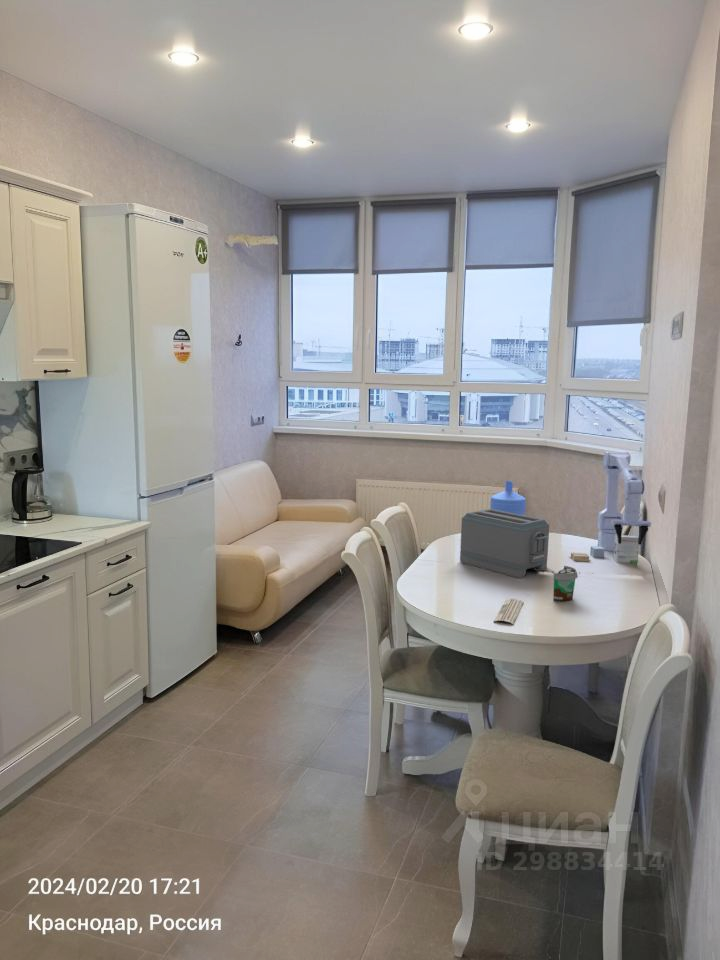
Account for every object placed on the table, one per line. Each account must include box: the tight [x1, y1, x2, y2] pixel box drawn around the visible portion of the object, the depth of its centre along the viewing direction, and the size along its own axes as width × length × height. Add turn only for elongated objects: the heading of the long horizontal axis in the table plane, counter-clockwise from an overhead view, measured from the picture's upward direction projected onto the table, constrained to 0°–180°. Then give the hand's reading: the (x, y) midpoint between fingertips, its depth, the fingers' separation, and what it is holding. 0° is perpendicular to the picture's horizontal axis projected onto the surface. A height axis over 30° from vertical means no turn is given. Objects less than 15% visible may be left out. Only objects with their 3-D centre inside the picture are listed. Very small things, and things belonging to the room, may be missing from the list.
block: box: [589, 545, 606, 558], centre depth 303 cm, size 4×4×5 cm
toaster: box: [459, 508, 550, 579], centre depth 286 cm, size 19×33×20 cm, turn 42°
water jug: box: [489, 480, 527, 516], centre depth 325 cm, size 16×16×28 cm
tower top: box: [570, 552, 590, 562], centre depth 297 cm, size 6×6×2 cm
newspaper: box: [493, 598, 524, 626], centre depth 234 cm, size 24×7×2 cm, turn 160°
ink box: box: [613, 534, 640, 567], centre depth 294 cm, size 9×5×12 cm, turn 84°
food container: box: [552, 565, 579, 603], centre depth 248 cm, size 12×6×10 cm, turn 148°
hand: (629, 543), depth 288 cm, fingers open, 7 cm apart
